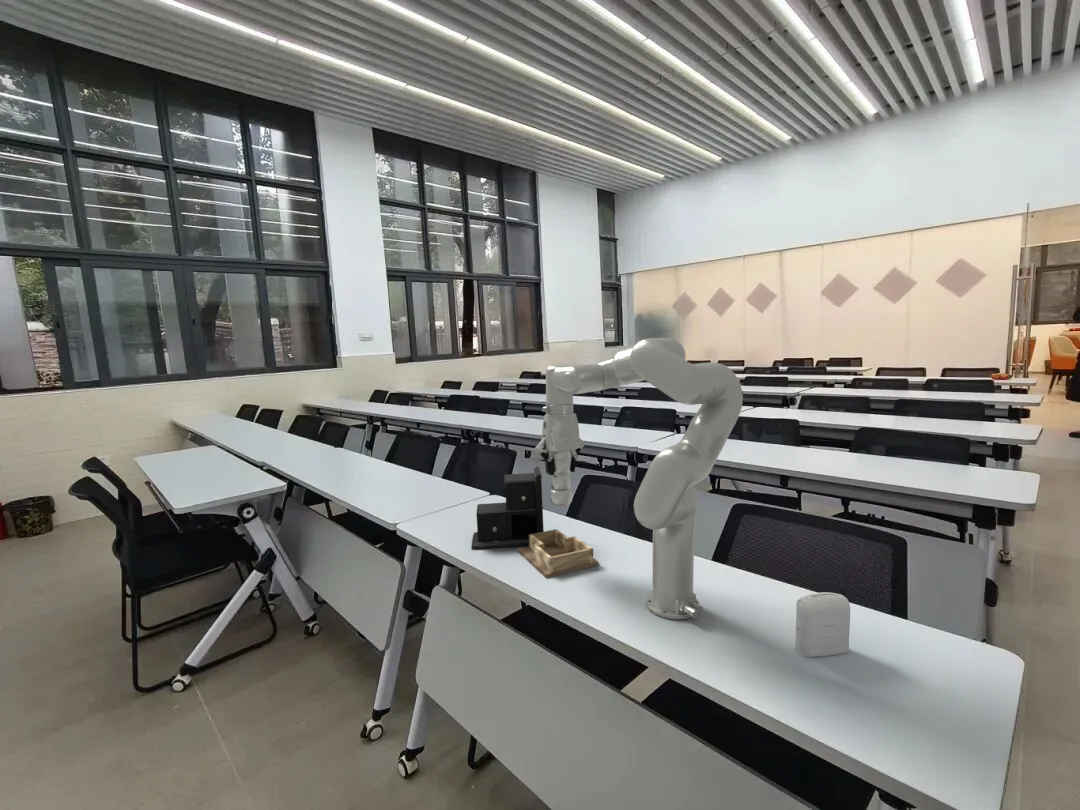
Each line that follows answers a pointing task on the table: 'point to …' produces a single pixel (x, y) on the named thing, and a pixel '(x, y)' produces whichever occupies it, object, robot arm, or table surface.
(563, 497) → the plastic bottle
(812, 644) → the photo printer
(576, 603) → the table surface
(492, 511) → the black drawer cabinet
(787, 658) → the table surface
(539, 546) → the keyhole plate
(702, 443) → the robot arm
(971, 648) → the table surface
